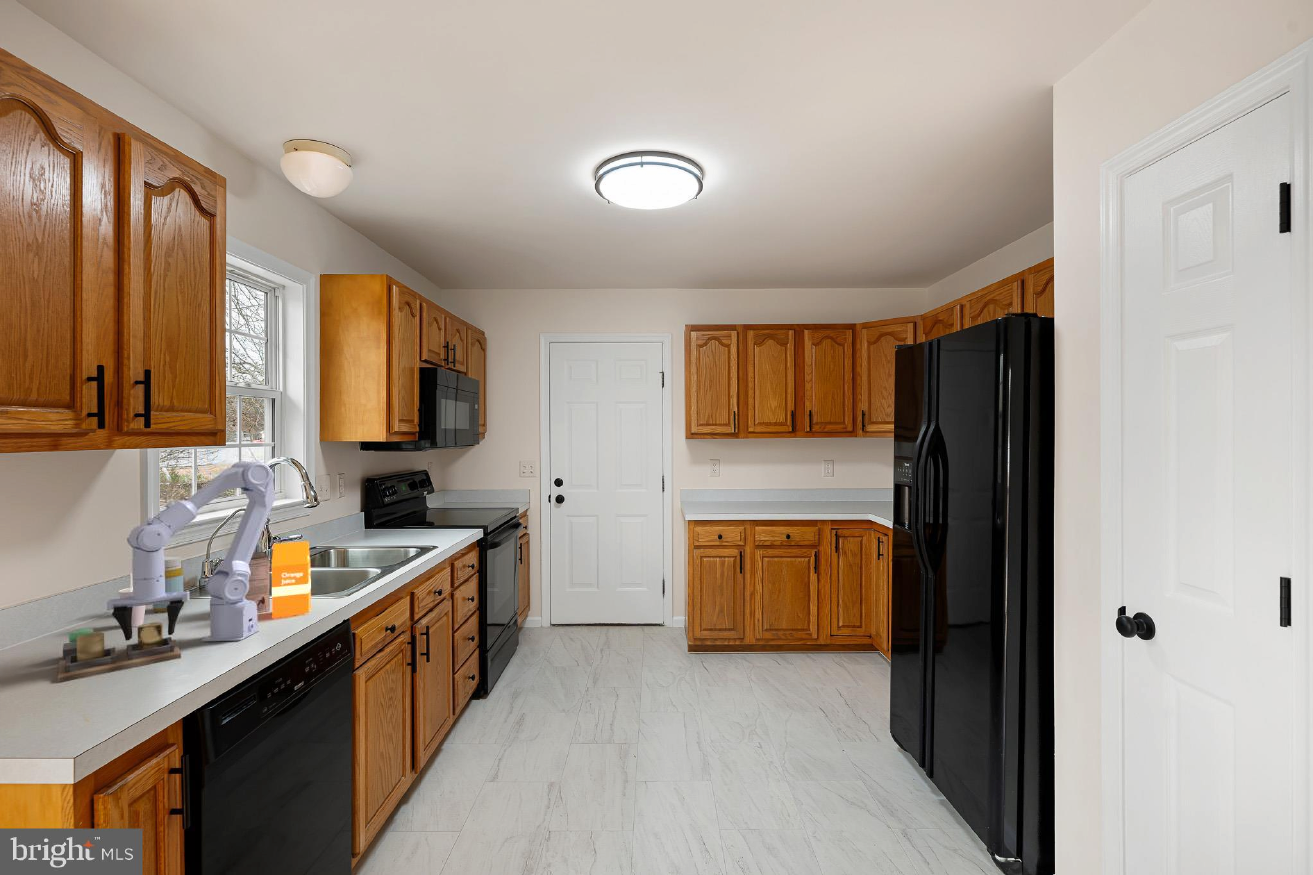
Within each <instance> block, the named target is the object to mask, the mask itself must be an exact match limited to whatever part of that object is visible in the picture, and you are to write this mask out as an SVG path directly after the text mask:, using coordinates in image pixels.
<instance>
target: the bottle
mask: <svg viewBox="0 0 1313 875" xmlns="http://www.w3.org/2000/svg"><path fill="white" fill-rule="evenodd" d="M164 558H165V593H170V592H184V572H183V570H182V557H181V556H179V555H176V556H175V555H174V556H173V555H172V556H171V555H170V556H164ZM155 602H156V601H155ZM168 604H170V603H162V604H153V605H152V610H153V611H154V612H155V613H159V612H161V613H167V605H168ZM184 604H185V603H184ZM184 604H183V606H182V608H183V607H184Z"/></svg>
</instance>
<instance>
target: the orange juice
mask: <svg viewBox="0 0 1313 875" xmlns="http://www.w3.org/2000/svg"><path fill="white" fill-rule="evenodd" d="M272 546H273V547H272V558H271V559H272V560H271V599H272V600H271V602H272V604H271V606H272V609H271V610H272V611H271V612H272V619H273V618H274V619H280V618H279V617H282V618H291V617H294V616H293V615H299V616H302V615H301V614H305V613H309V614H310V612H311V609H312V594H311V593H312V592H311V591H312V590H311V589H312V584H311V583H312V580H311V578H312V577H311V556H310V545H309V540H308V541H305V540H304V541H292V542H282V543H281V542H280V543H273V545H272ZM310 608H311V609H310ZM309 611H310V612H309ZM290 616H291V617H290Z"/></svg>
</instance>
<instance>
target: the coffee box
mask: <svg viewBox="0 0 1313 875" xmlns="http://www.w3.org/2000/svg"><path fill="white" fill-rule="evenodd" d="M249 568H250V572H251V575H250V577H249V590H248V593H247V594H246V596H245V599H246V600H249V601H254V602H255V603H256V605H257V614H259V613H260V614H261V613H264V612H265V611H266V612H270V610H271V609H270V604H271V603H270V602H271V601H270V597H271V596H270V555H268V554H266V553H265V552H263V551H255V552H253V555H252V557H251V560H250V562H249Z"/></svg>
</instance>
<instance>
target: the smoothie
mask: <svg viewBox="0 0 1313 875" xmlns="http://www.w3.org/2000/svg"><path fill="white" fill-rule="evenodd" d="M117 595H118V596H119V599H120V598H126V597H132V596H133V574H132V572H130V573H129V587H126V588H123V589H120V590H118V591H117ZM146 606H147V605H144V606H135V607H133V609H132V628H135V626H136V627H138V626H140V625H142V624H144V620H145V612H146Z"/></svg>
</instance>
